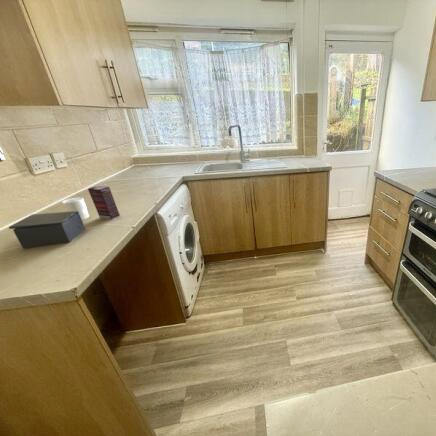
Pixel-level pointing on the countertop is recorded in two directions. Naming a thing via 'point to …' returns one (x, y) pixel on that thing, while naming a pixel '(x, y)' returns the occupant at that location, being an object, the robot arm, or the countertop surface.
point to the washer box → (50, 233)
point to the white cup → (76, 206)
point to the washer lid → (44, 219)
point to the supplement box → (104, 202)
